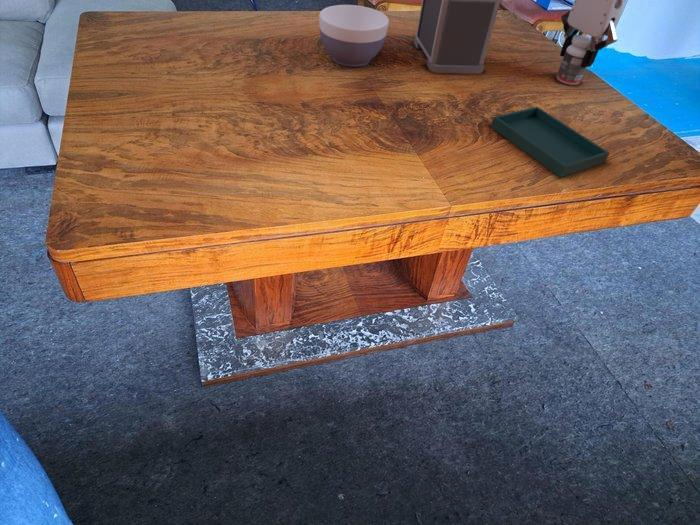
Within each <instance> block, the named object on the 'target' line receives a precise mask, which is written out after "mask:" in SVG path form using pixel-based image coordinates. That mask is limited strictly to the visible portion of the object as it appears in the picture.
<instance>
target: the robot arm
mask: <svg viewBox="0 0 700 525" xmlns="http://www.w3.org/2000/svg"><path fill="white" fill-rule="evenodd" d="M625 2H626V0H574V1H573V3H572V6H571V9H570V10H568V11H567V12H565V13H564V14H562V15H561V17H560V19H561V23H562V25H563V28H562V29H563V32H564V34H563V38H564V41H563V44H562V47H561V50H560V52H559V56H560V57H562V58H563V57H564V54H565V52H566V49H567V48H568V46H570V45H572V39H573V37H574V36H575V35H579V32H581V33H584V34H586V35H588V36H589V37H590V38H591V44H590V50H587V51H586V54H585V56H584V58H583V61H582V63H581V67H582V68H585V67H586V68H588V67H592V65H593V64H594V62H595V61H596V58H597V56H598V53H599V51H601V50H603V49H604V48H607V47H608V46H610V45H612V44H615V43H617V41H618V37H617V31H616V28H617V25H618V23H619V20H620V18H621V15H622V11H623V8H624V6H625ZM605 37H607V38H606V39H604V38H605ZM586 68H585V69H586Z"/></svg>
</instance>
